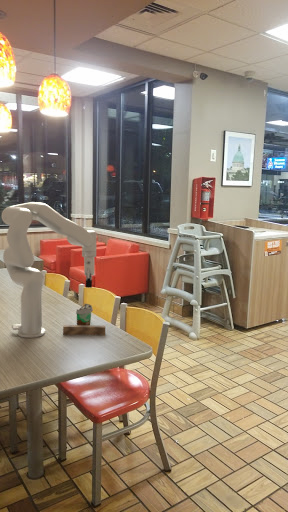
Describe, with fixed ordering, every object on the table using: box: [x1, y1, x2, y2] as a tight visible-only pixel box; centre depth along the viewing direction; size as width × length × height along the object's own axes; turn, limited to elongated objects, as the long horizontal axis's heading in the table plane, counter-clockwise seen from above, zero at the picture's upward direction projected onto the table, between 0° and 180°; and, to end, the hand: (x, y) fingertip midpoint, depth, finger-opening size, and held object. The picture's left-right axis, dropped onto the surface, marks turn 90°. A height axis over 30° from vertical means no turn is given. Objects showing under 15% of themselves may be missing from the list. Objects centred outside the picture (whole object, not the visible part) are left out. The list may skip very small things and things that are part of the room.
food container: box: [75, 303, 94, 325], centre depth 200 cm, size 12×6×10 cm, turn 168°
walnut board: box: [62, 324, 106, 336], centre depth 188 cm, size 20×2×4 cm, turn 95°
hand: (88, 287), depth 211 cm, fingers closed
